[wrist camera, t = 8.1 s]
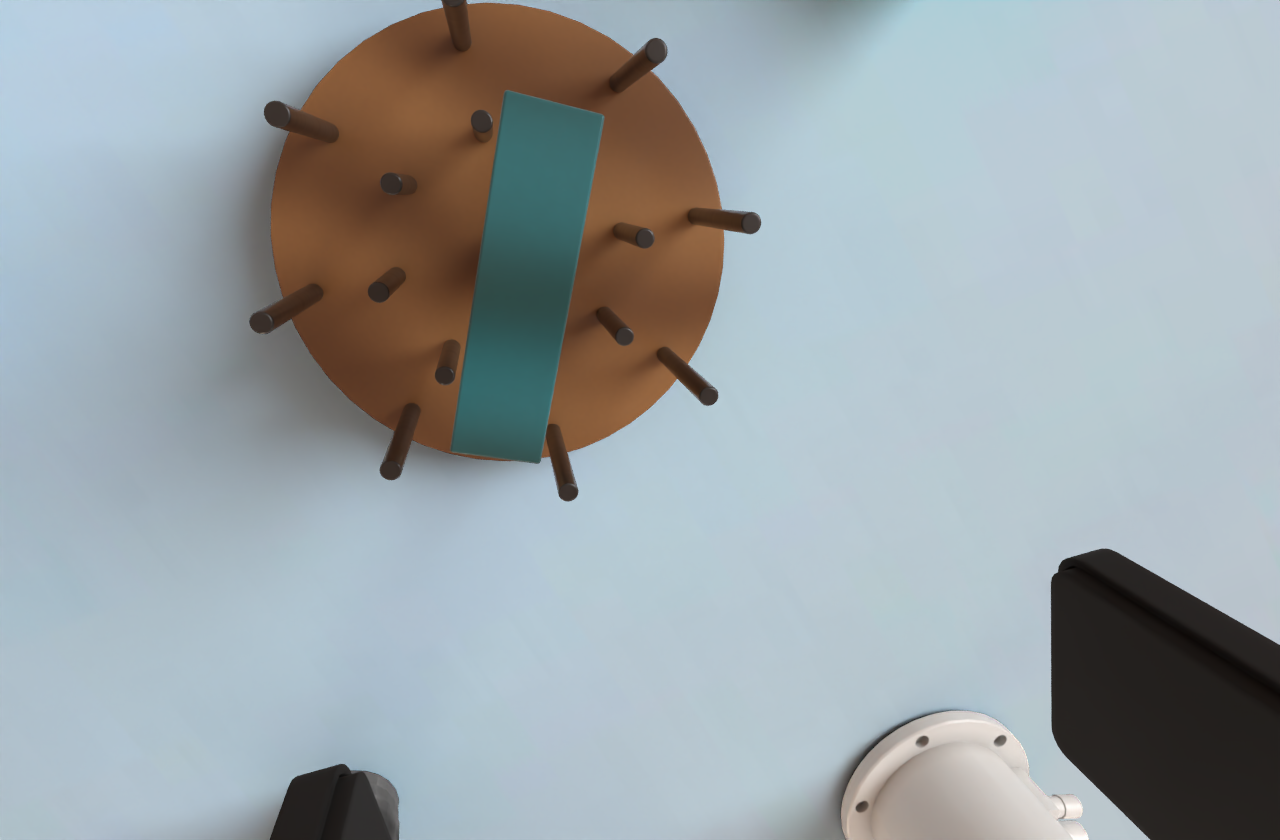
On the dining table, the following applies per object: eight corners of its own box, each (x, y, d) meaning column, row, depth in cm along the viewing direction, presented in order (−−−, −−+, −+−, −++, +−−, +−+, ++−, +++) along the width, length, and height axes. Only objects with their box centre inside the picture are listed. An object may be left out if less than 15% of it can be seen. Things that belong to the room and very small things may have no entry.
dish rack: (298, -54, 26) (126, -273, 14) (762, 78, 30) (945, 1, 18) (260, 422, 30) (107, 578, 18) (667, 477, 35) (763, 631, 23)
